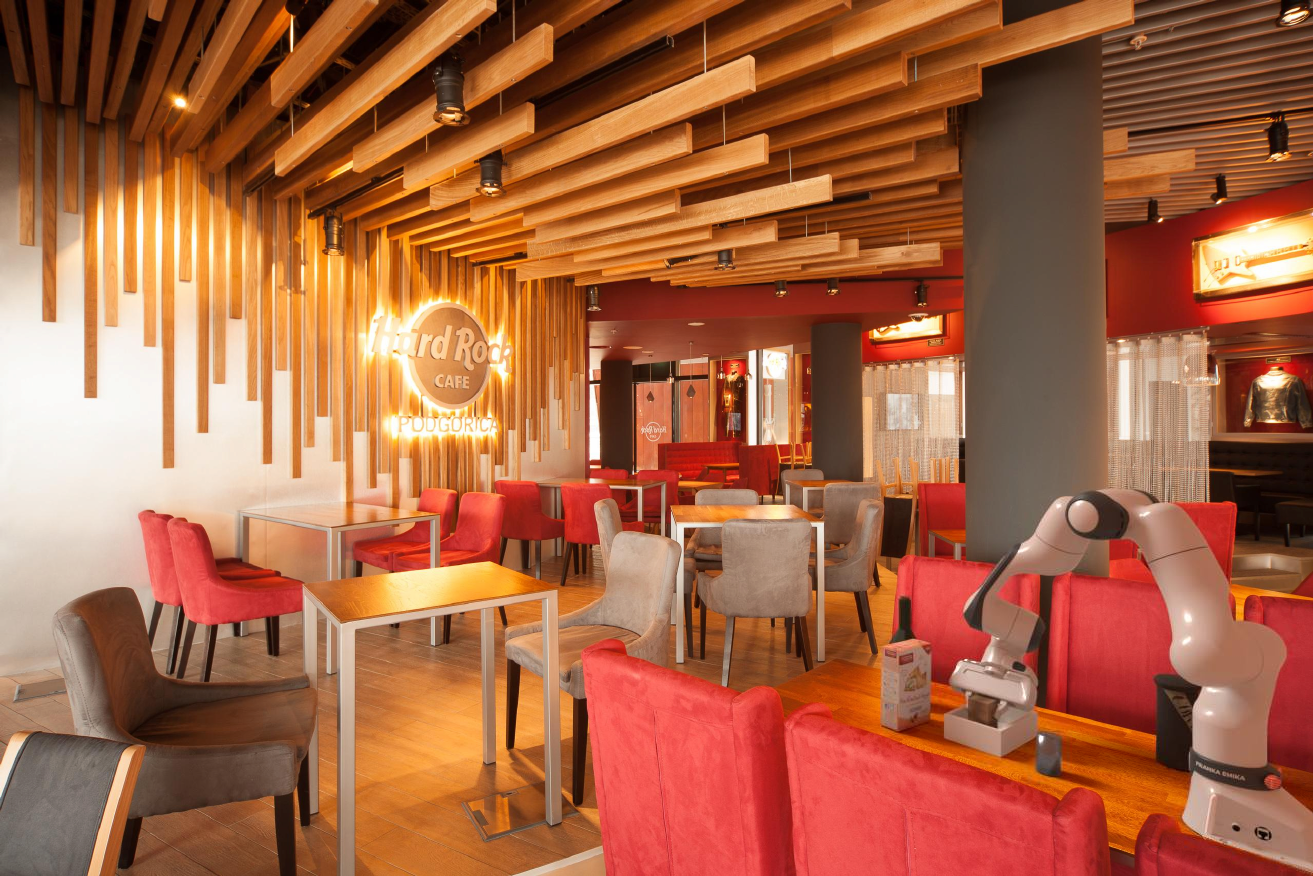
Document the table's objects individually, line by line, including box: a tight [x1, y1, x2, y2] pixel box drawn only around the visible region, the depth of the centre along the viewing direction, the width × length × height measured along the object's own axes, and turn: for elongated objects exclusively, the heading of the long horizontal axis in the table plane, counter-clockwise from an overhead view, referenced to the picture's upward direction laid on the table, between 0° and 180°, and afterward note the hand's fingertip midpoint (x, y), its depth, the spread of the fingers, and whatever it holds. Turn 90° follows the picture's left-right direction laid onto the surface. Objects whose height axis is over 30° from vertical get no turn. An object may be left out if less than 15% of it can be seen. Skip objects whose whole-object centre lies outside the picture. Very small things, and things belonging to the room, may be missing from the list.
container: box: [1152, 673, 1203, 772], centre depth 163 cm, size 9×9×20 cm
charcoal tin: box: [1034, 730, 1063, 777], centre depth 158 cm, size 5×5×8 cm
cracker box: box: [880, 638, 932, 733], centre depth 186 cm, size 14×6×21 cm, turn 125°
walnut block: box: [968, 694, 998, 729], centre depth 175 cm, size 5×5×8 cm
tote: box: [943, 703, 1039, 758], centre depth 177 cm, size 14×20×6 cm
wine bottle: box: [888, 595, 918, 645], centre depth 202 cm, size 8×8×30 cm
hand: (981, 714), depth 174 cm, fingers closed on walnut block, 5 cm apart
